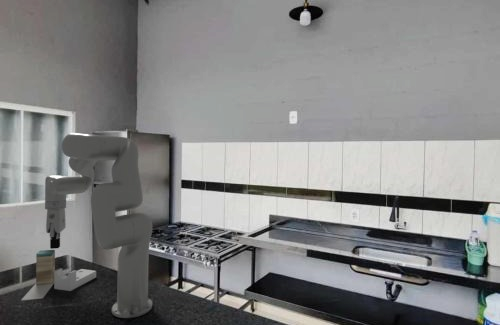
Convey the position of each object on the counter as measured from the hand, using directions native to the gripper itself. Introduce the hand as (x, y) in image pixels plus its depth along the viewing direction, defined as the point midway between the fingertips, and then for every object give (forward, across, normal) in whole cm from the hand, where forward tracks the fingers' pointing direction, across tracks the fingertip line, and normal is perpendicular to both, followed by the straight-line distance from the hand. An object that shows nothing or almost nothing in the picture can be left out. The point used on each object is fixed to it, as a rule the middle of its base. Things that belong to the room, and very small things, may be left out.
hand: (55, 247), depth 128 cm
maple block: (+10, -12, 0) cm, 16 cm away
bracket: (+11, -15, -11) cm, 22 cm away
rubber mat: (+10, -17, 0) cm, 20 cm away
